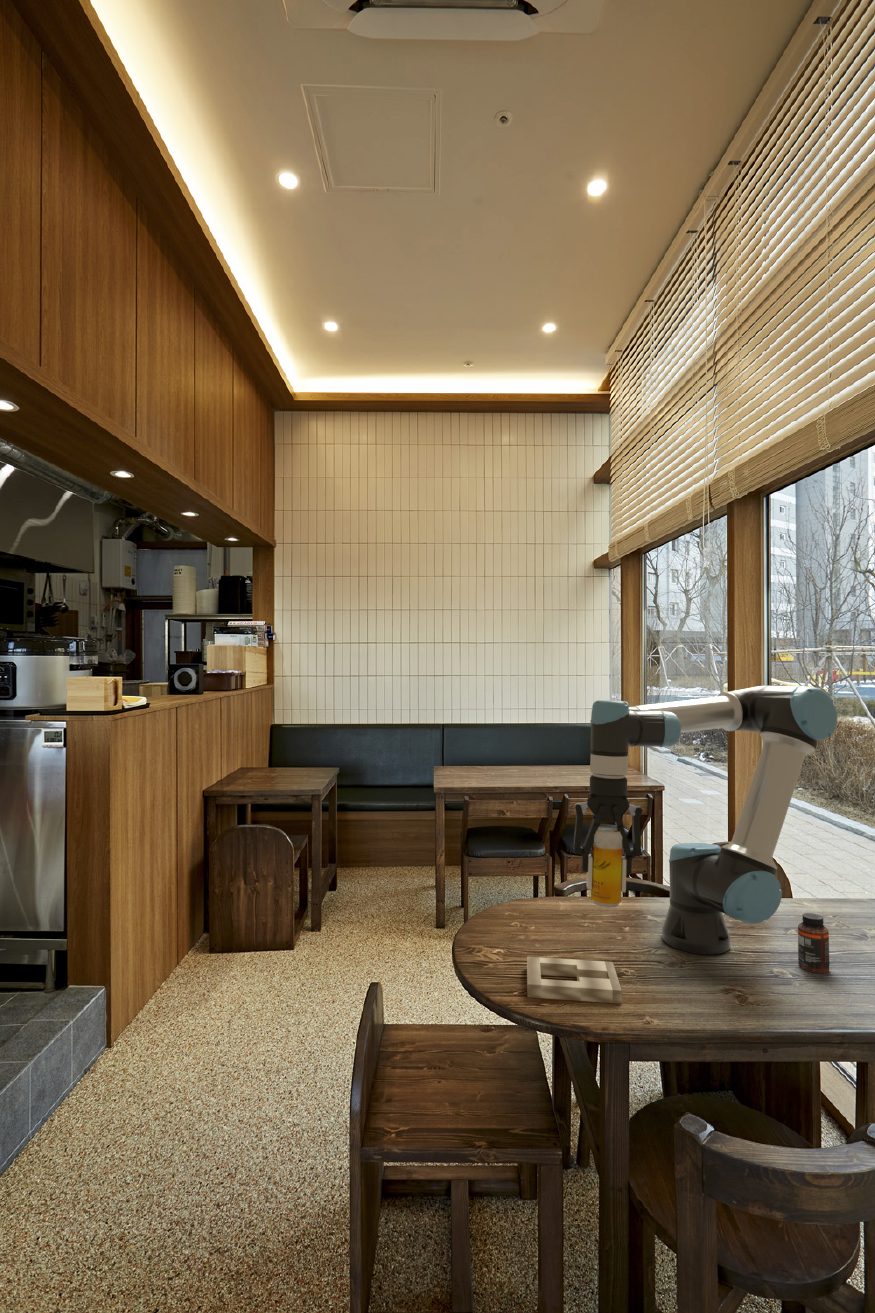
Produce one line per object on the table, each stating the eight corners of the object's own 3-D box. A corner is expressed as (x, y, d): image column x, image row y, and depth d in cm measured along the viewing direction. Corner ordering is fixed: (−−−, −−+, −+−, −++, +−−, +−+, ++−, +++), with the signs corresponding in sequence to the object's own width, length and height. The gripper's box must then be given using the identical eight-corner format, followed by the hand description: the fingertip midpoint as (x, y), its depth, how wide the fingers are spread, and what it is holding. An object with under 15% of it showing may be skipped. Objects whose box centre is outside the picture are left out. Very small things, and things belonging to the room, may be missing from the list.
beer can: (586, 898, 139) (588, 826, 139) (614, 898, 140) (616, 826, 140) (596, 908, 133) (598, 832, 133) (625, 908, 133) (627, 833, 134)
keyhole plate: (612, 974, 141) (612, 962, 141) (621, 1003, 128) (621, 990, 128) (526, 968, 143) (527, 956, 144) (527, 997, 131) (527, 984, 131)
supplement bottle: (826, 964, 147) (825, 913, 147) (832, 976, 141) (832, 922, 142) (795, 960, 149) (795, 909, 149) (800, 971, 143) (800, 918, 144)
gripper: (652, 775, 140) (649, 886, 139) (560, 770, 142) (557, 880, 141) (660, 780, 132) (657, 898, 132) (563, 775, 134) (560, 891, 134)
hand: (605, 888), depth 136 cm, fingers closed on beer can, 6 cm apart
